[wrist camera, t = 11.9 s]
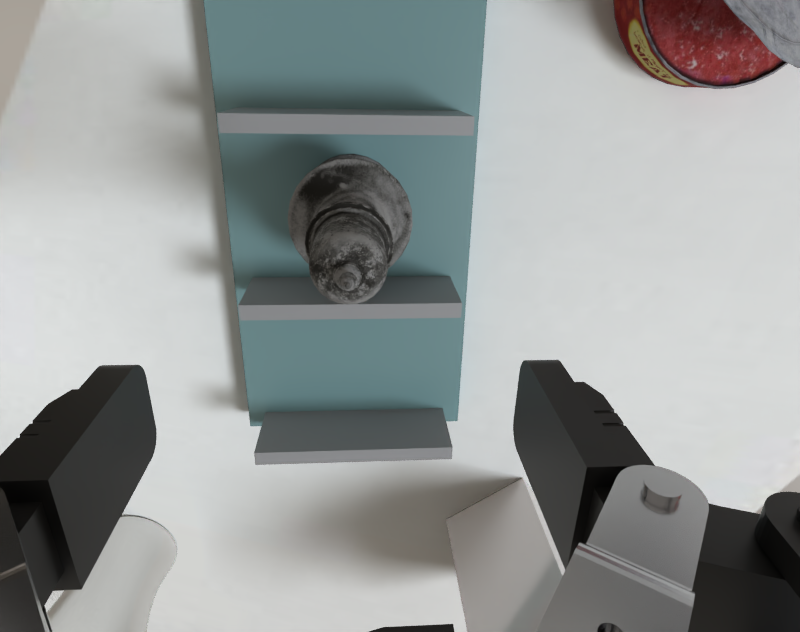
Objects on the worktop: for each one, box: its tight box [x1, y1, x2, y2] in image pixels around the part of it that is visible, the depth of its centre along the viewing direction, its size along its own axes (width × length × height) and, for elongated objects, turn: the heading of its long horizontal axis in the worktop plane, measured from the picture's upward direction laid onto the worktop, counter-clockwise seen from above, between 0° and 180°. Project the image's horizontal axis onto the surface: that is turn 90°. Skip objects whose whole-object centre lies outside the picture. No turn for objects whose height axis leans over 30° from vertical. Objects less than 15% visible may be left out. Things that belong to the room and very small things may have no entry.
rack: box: [204, 0, 487, 465], centre depth 28 cm, size 28×13×6 cm, turn 179°
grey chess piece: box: [288, 154, 413, 304], centre depth 24 cm, size 6×6×12 cm
